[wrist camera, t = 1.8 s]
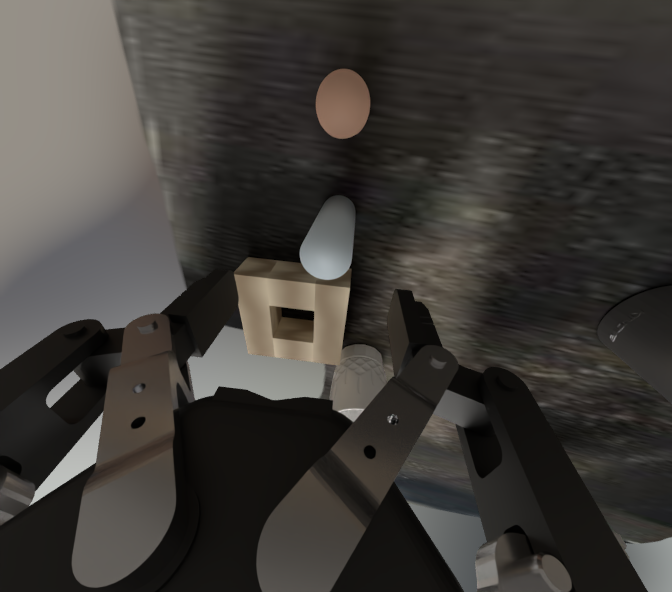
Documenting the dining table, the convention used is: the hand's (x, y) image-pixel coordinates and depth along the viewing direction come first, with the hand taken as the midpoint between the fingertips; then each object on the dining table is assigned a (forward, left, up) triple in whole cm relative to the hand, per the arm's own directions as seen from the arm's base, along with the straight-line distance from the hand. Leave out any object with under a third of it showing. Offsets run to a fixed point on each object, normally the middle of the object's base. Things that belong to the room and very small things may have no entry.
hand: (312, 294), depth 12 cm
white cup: (-5, +21, -14) cm, 26 cm away
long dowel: (0, 0, -14) cm, 14 cm away
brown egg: (0, -8, -14) cm, 16 cm away
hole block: (+4, +12, -14) cm, 19 cm away
